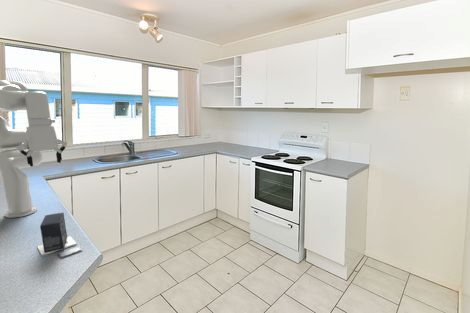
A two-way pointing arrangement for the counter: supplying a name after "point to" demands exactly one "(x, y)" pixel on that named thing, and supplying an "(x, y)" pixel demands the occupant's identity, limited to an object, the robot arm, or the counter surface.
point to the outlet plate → (68, 243)
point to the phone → (69, 252)
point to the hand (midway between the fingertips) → (45, 164)
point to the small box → (53, 232)
